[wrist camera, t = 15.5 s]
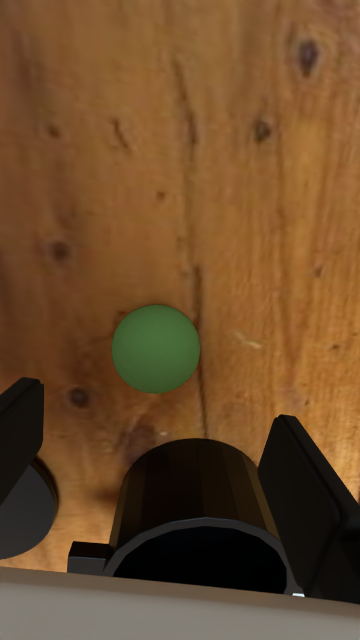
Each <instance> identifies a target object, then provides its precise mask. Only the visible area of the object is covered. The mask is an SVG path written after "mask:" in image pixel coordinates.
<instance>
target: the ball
mask: <svg viewBox="0 0 360 640" xmlns="http://www.w3.org/2000/svg"><path fill="white" fill-rule="evenodd" d="M111 353H112V359H113V363H114V366H115V368H116V370H117V372H118V374H119V375H120V376H121V378H122V379H123V380H124V381H125V382H126V383H127V384H129V385H130V386H131V387H133V388H135V389H137V390H139V391H142V392H146V393H165V392H168V391H171V390H174V389H176V388H178V387H179V386H181V385H182V384H183V383H185V382H186V381H187V380H188V379H189V378H190V376H191V375H192V373H193V372H194V370H195V368H196V366H197V364H198V360H199V356H200V342H199V337H198V333H197V331H196V329H195V327H194V325H193V324H192V322H191V321H190V320H189V319H188V318H187V317H186V316H185V315H184V314H183V313H181V312H180V311H178V310H176V309H174V308H172V307H169V306H165V305H147V306H144V307H140V308H138V309H136V310H134V311H132V312H131V313H129V314H128V315H127V316H126V317H125V318H124V319H123V320H122V321H121V322H120V324H119V325H118V327H117V329H116V331H115V333H114V336H113V340H112V347H111Z"/></svg>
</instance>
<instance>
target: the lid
mask: <svg viewBox="0 0 360 640" xmlns="http://www.w3.org/2000/svg"><path fill="white" fill-rule="evenodd" d="M56 511H57V498H56V494H55V490H54V488H53V485H52V483H51V481H50V479H49V478H48V476H47V475H46V473H45V472H44V471H43V470H42V468H41V467H40V466H39V465H38V464H37V463H36V462H35V461H34V460H32V462H31V463H30V464H29V466H28V467H27V469H26V470H25V472H24V473H23V475H22V476H21V477H20V479H19V480H18V482H17V483H16V485H15V486H14V488H13V489H12V491H11V492H10V493H9V495H8V496H7V498H6V499H5V501H4V502H3V504H2V505H1V506H0V560H1V559H6V558H10V557H14V556H17V555H20V554H22V553H24V552H26V551H28V550H30V549H32V548H33V547H35V546H36V545H37V544H39V543H40V542H41V541H42V540H43V539H44V538H45V536H46V535H47V534H48V532H49V530H50V529H51V527H52V524H53V522H54V519H55V516H56Z"/></svg>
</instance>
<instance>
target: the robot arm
mask: <svg viewBox="0 0 360 640" xmlns="http://www.w3.org/2000/svg"><path fill="white" fill-rule="evenodd" d="M43 417H44V384H41V383H40V380H39V379H33V378H27V377H22V378H20V379H19V380H18V381H17V382H16V383H14V384H13V385H12V386H11V387H9V388H8V389H7V390H6V391H5V392H3V393H2V394H1V395H0V506H1V505H2V504H3V502H4V501H5V499H6V498H7V496H8V495H9V493H10V492H11V491H12V489H13V488H14V486H15V485H16V483H17V482H18V480H19V479H20V477H21V476H22V475H23V473H24V472H25V470H26V469H27V467H28V466H29V464H30V463H31V462H32V460H33V459H34V457H35V456H36V454H37V453H38V451H39V450H40V448H41V446H42V442H43ZM258 479H259V481H260V484H261V487H262V490H263V493H264V495H265V498H266V501H267V504H268V507H269V509H270V512H271V515H272V518H273V521H274V523H275V526H276V529H277V532H278V535H279V537H280V540H281V543H282V546H283V549H284V551H285V554H286V557H287V560H288V563H289V565H290V568H291V571H292V574H293V577H294V579H295V582H296V584H297V585H298V586H299V587H302V590H303V593H304V596H305V597H301V596H292V595H283V594H274V593H264V592H255V591H245V590H236V589H226V588H217V587H208V586H198V585H188V584H178V583H168V582H158V581H148V580H138V579H127V578H117V577H107V576H97V575H86V574H75V573H65V572H54V571H43V570H32V569H21V568H11V567H0V640H360V506H359V504H358V503H357V501H356V500H355V499H354V497H353V496H352V494H351V493H350V492H349V490H348V489H347V487H346V486H345V485H344V483H343V482H342V481H341V479H340V478H339V476H338V475H337V474H336V472H335V471H334V469H333V468H332V467H331V465H330V464H329V462H328V461H327V460H326V458H325V457H324V455H323V454H322V453H321V451H320V450H319V448H318V447H317V446H316V444H315V443H314V441H313V440H312V439H311V437H310V436H309V434H308V433H307V432H306V430H305V429H304V427H303V426H302V425H301V423H300V422H299V420H298V419H297V418H296V417H295V416H290V415H283V414H281V415H279V416H278V417H276V418H275V419H274V421H273V424H272V427H271V430H270V433H269V436H268V439H267V442H266V445H265V448H264V451H263V454H262V457H261V460H260V463H259V466H258Z"/></svg>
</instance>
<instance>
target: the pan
mask: <svg viewBox="0 0 360 640" xmlns="http://www.w3.org/2000/svg"><path fill="white" fill-rule="evenodd" d="M67 573H75V574H86V575H97V576H107V577H117V578H127V579H138V580H148V581H158V582H168V583H178V584H188V585H198V586H208V587H217V588H226V589H236V590H245V591H255V592H264V593H274V594H283V595H293V593H299V594H304V593H303V590H302V587H299V586H298V585H297V584H296V582H295V579H294V577H293V574H292V571H291V568H290V565H289V563H288V560H287V557H286V554H285V551H284V549H283V546H282V543H281V540H280V537H279V535H278V532H277V529H276V526H275V523H274V521H273V518H272V515H271V512H270V509H269V507H268V504H267V501H266V498H265V495H264V493H263V490H262V487H261V484H260V481H259V479H258V468H257V467H256V465H255V464H254V463H253V462H252V461H251V459H250V458H249V457H248V456H246V455H245V454H244V453H243V452H241V451H239V450H238V449H236V448H234V447H232V446H230V445H228V444H225V443H222V442H218V441H214V440H208V439H184V440H178V441H173V442H170V443H166V444H164V445H161V446H158V447H156V448H154V449H153V450H151V451H149V452H147V453H146V454H145V455H143V456H142V457H141V458H139V459H138V460H137V461H136V462H135V463H134V464H133V465H132V467H131V468H130V469H129V471H128V472H127V474H126V476H125V478H124V480H123V483H122V485H121V488H120V493H119V498H118V502H117V507H116V512H115V516H114V521H113V526H112V530H111V535H110V540H109V544H102V543H90V542H78V541H73V543H72V546H71V549H70V552H69V555H68V564H67Z"/></svg>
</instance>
